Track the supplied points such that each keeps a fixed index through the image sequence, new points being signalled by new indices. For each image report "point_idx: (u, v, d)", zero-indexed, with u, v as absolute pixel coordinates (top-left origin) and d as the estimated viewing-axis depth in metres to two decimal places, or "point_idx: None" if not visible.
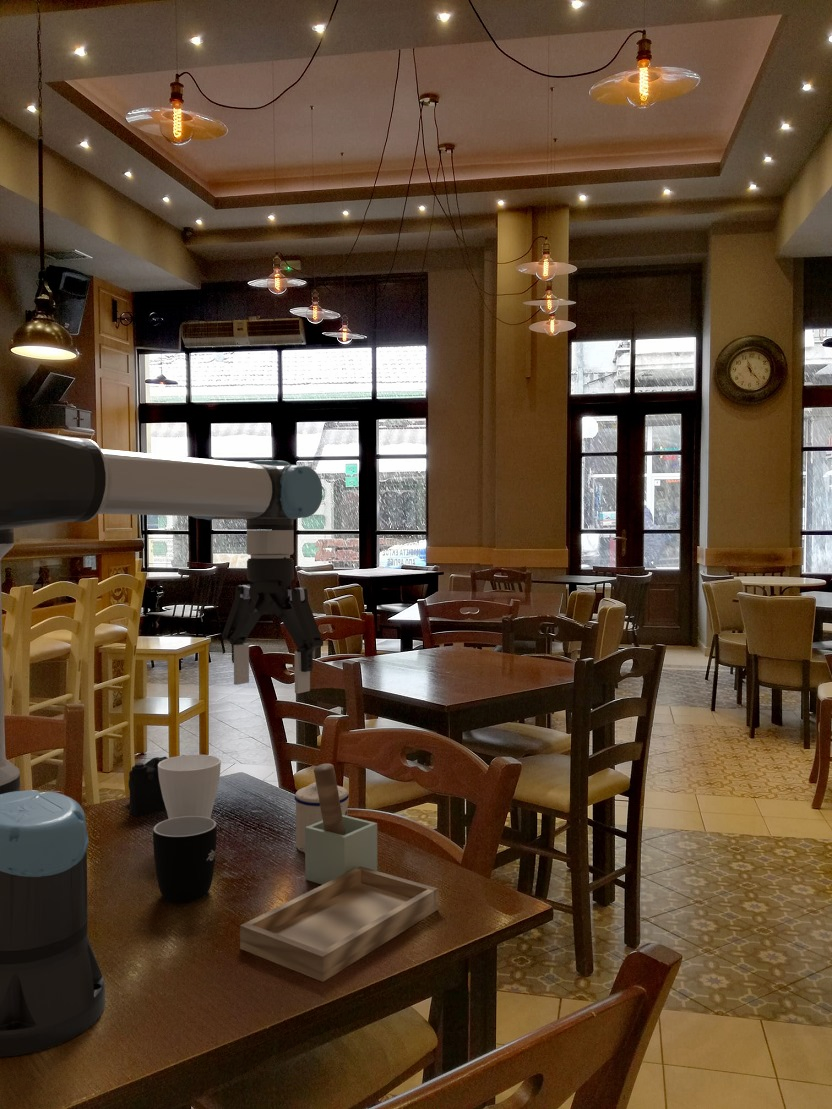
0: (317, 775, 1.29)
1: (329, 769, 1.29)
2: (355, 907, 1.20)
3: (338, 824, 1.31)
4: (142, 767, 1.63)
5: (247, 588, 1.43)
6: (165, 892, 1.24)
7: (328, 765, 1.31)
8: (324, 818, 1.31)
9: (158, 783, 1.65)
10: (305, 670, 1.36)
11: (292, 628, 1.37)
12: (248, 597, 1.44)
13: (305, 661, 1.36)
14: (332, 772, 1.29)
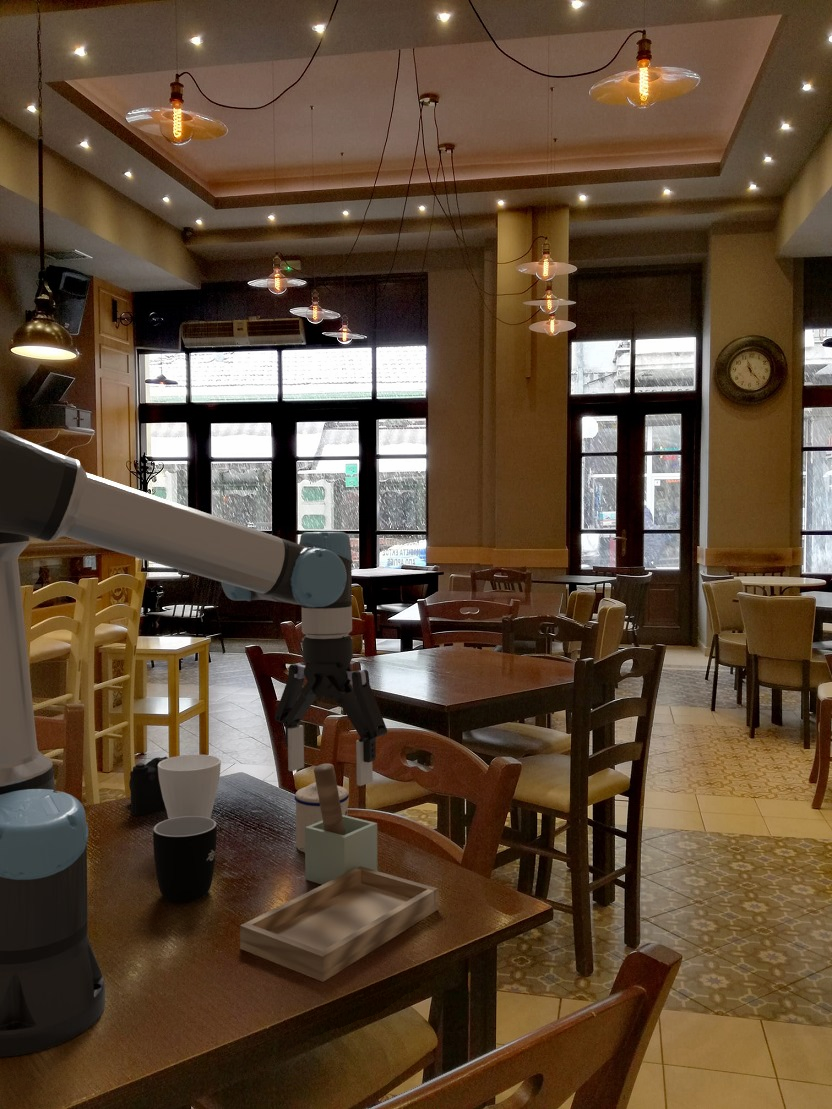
0: (317, 775, 1.29)
1: (329, 769, 1.29)
2: (355, 907, 1.20)
3: (338, 824, 1.31)
4: (143, 767, 1.63)
5: (302, 667, 1.33)
6: (165, 892, 1.24)
7: (328, 765, 1.31)
8: (324, 818, 1.31)
9: (159, 783, 1.65)
10: (368, 760, 1.25)
11: (353, 715, 1.26)
12: (303, 677, 1.33)
13: (368, 751, 1.25)
14: (332, 772, 1.29)
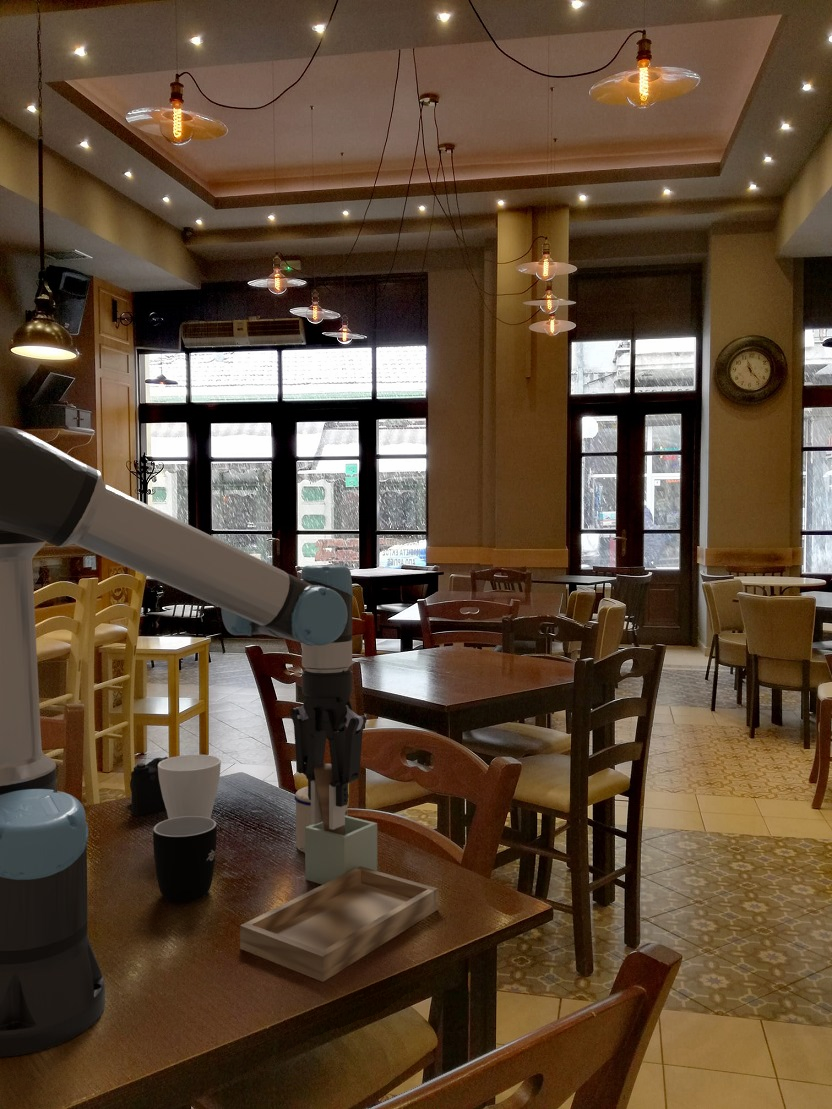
0: (317, 775, 1.29)
1: (329, 769, 1.29)
2: (355, 907, 1.20)
3: None
4: (144, 767, 1.63)
5: (301, 707, 1.33)
6: (165, 892, 1.24)
7: (328, 765, 1.31)
8: (324, 818, 1.31)
9: None
10: (340, 805, 1.28)
11: (335, 758, 1.28)
12: (306, 716, 1.33)
13: (340, 795, 1.28)
14: None
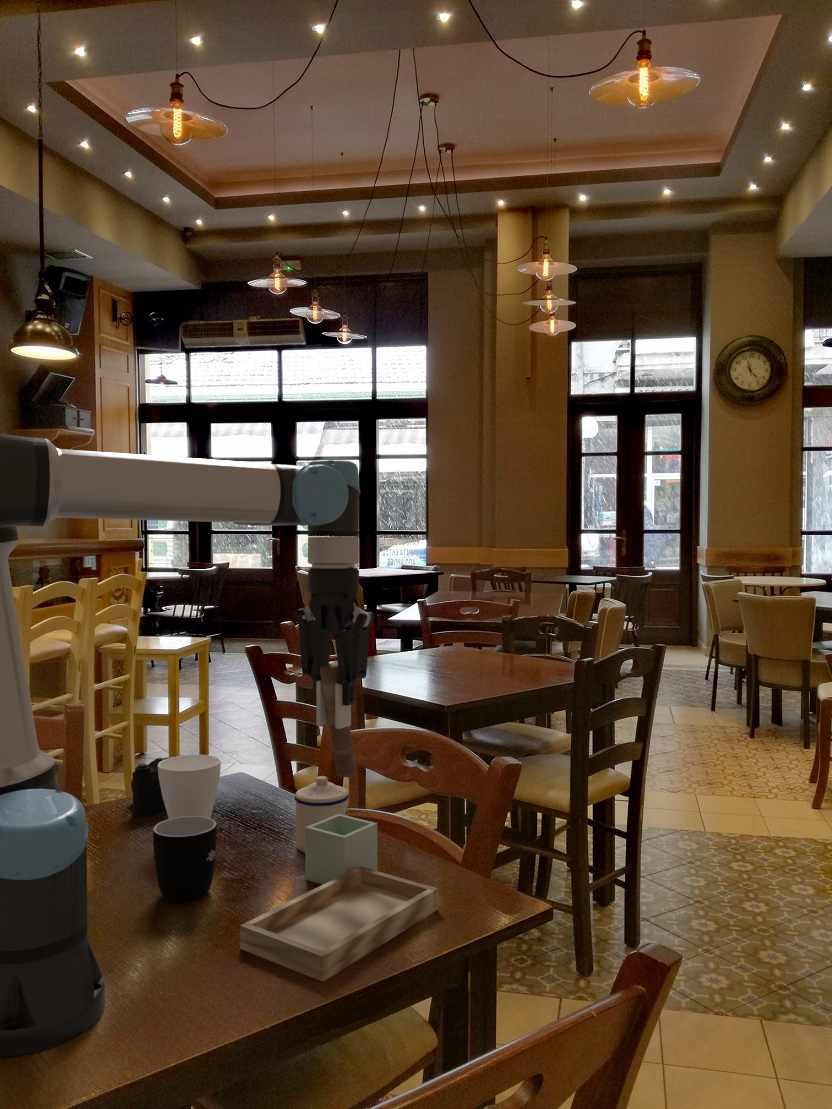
0: (323, 673, 1.27)
1: (335, 667, 1.27)
2: (355, 907, 1.20)
3: None
4: (146, 768, 1.63)
5: (306, 607, 1.31)
6: (165, 892, 1.24)
7: (333, 664, 1.28)
8: (330, 718, 1.28)
9: None
10: (347, 704, 1.26)
11: (342, 655, 1.26)
12: (311, 616, 1.31)
13: (347, 694, 1.26)
14: (338, 670, 1.27)
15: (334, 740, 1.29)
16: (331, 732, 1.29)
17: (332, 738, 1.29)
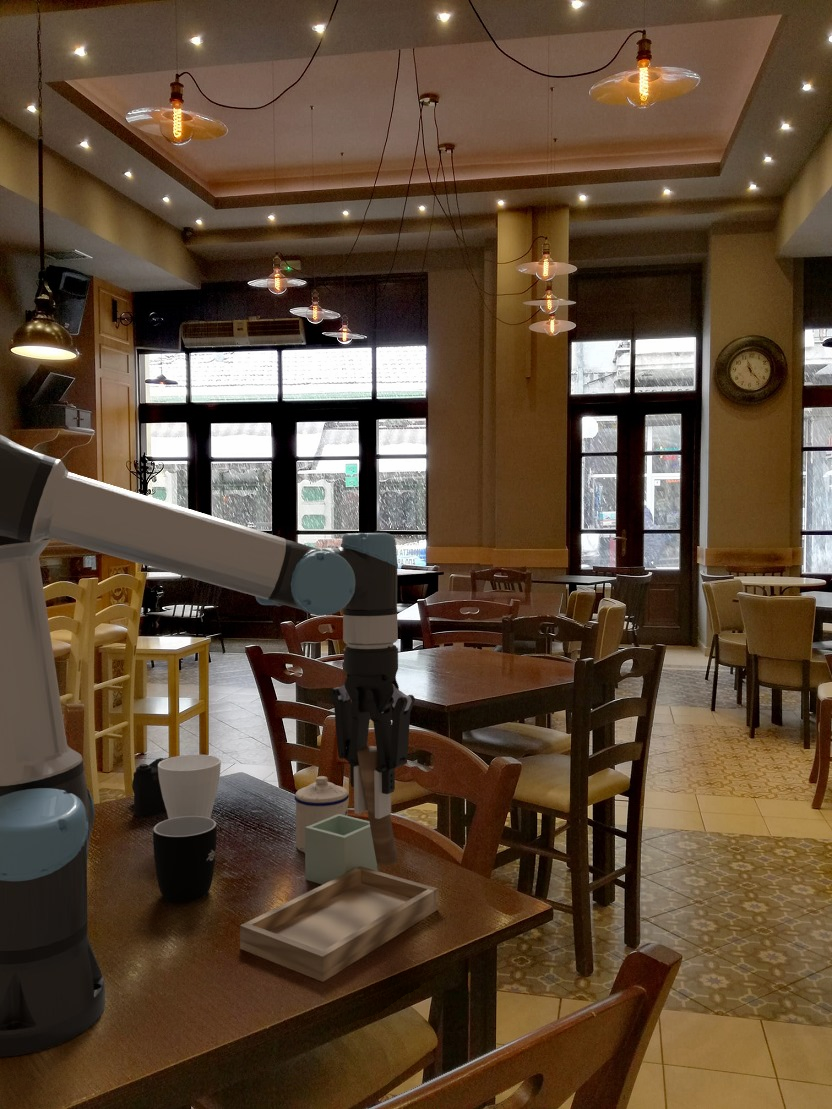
0: (361, 758, 1.19)
1: (374, 752, 1.19)
2: (355, 907, 1.20)
3: None
4: (147, 768, 1.63)
5: (342, 686, 1.23)
6: (165, 892, 1.24)
7: (372, 748, 1.21)
8: (369, 805, 1.21)
9: None
10: (387, 792, 1.18)
11: (381, 741, 1.18)
12: (348, 696, 1.23)
13: (387, 782, 1.18)
14: (377, 755, 1.19)
15: (373, 828, 1.21)
16: (370, 819, 1.21)
17: (371, 826, 1.21)
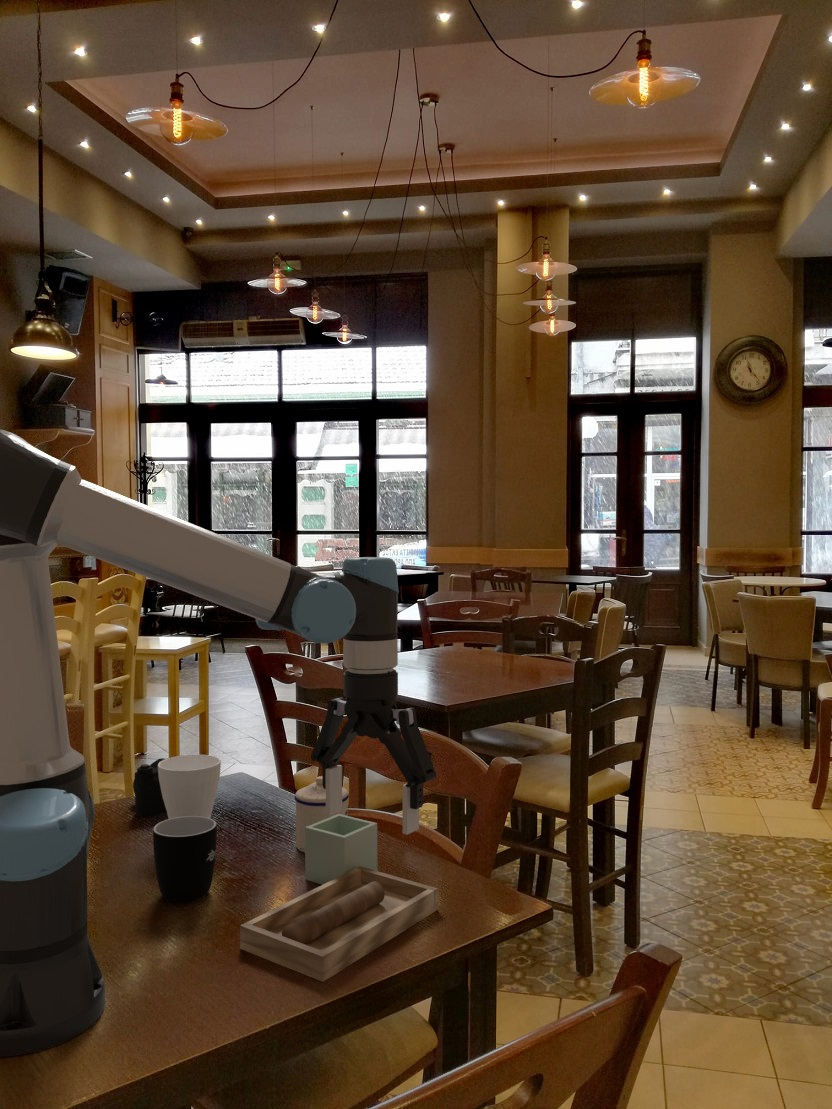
0: None
1: (297, 940, 1.08)
2: None
3: (345, 919, 1.14)
4: (148, 768, 1.63)
5: (342, 703, 1.23)
6: (165, 892, 1.24)
7: (291, 931, 1.08)
8: None
9: None
10: (415, 807, 1.16)
11: (399, 757, 1.16)
12: (342, 713, 1.23)
13: (415, 797, 1.15)
14: (302, 938, 1.08)
15: None
16: None
17: None
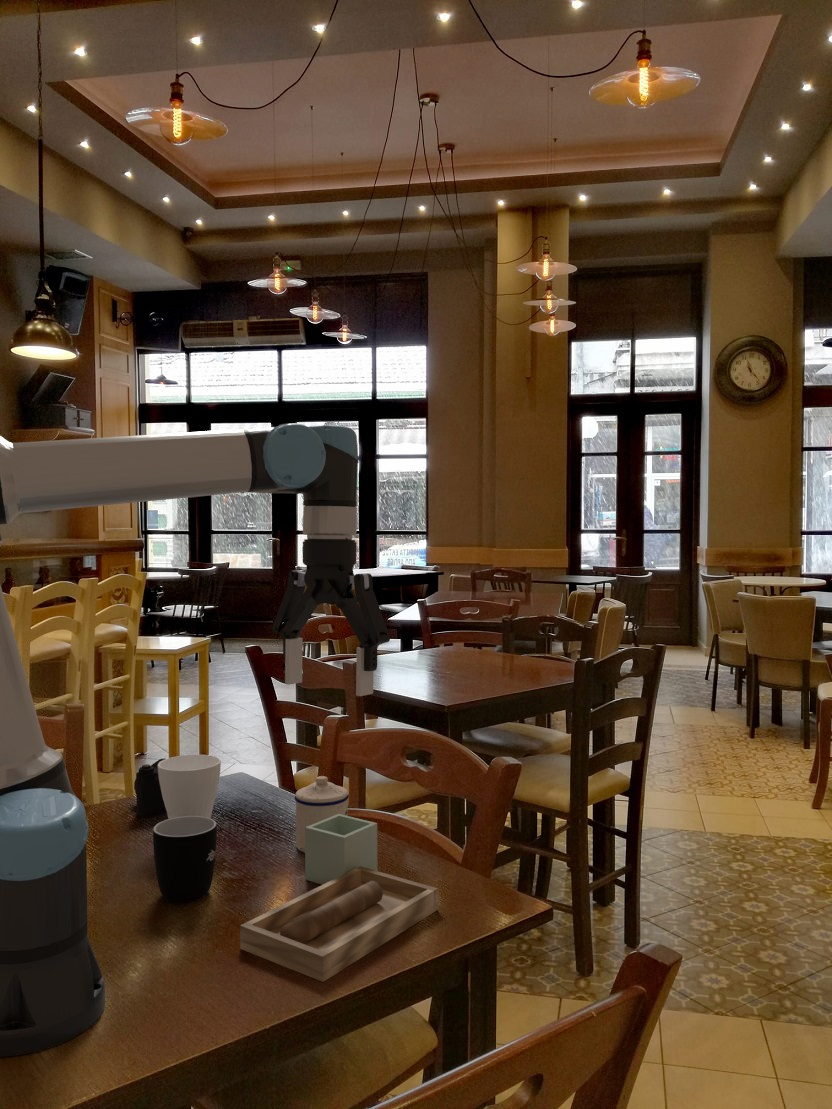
0: None
1: (295, 938, 1.08)
2: None
3: (343, 916, 1.15)
4: (149, 768, 1.62)
5: (302, 574, 1.25)
6: (165, 892, 1.24)
7: (287, 930, 1.09)
8: None
9: None
10: (368, 669, 1.17)
11: (354, 620, 1.18)
12: (303, 584, 1.25)
13: (369, 659, 1.17)
14: (299, 934, 1.08)
15: None
16: None
17: None
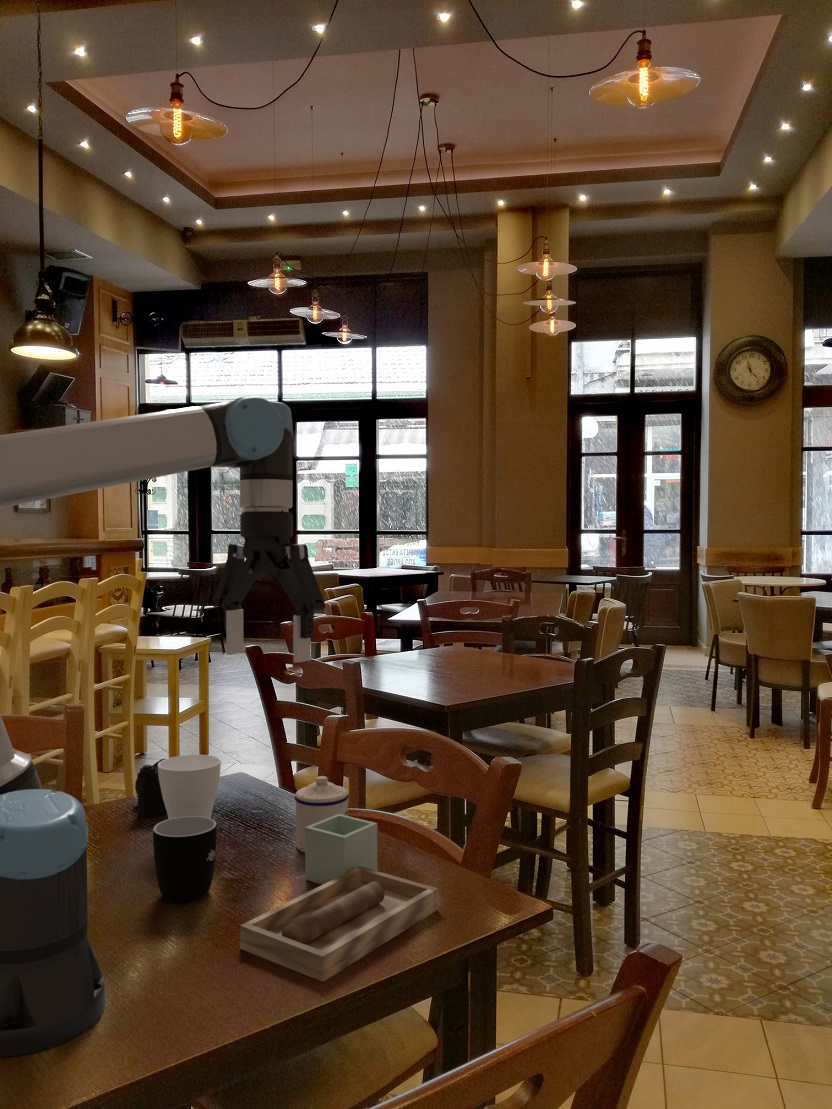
0: None
1: (297, 940, 1.08)
2: None
3: (345, 919, 1.14)
4: (151, 769, 1.62)
5: (241, 546, 1.28)
6: (165, 892, 1.24)
7: (290, 931, 1.08)
8: None
9: None
10: (305, 636, 1.21)
11: (290, 589, 1.22)
12: (242, 557, 1.29)
13: (305, 626, 1.21)
14: (302, 938, 1.08)
15: None
16: None
17: None
